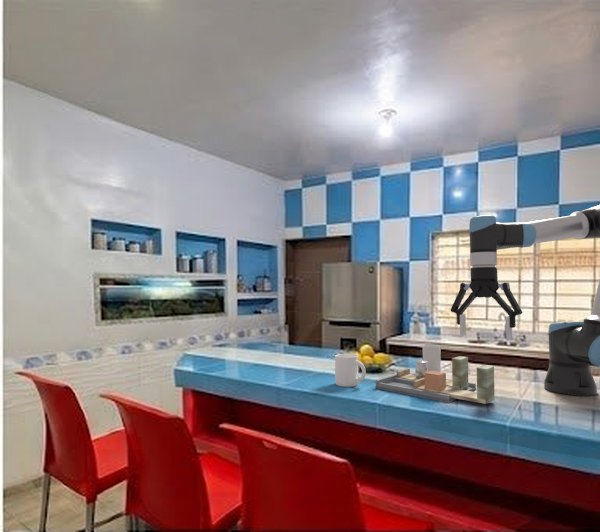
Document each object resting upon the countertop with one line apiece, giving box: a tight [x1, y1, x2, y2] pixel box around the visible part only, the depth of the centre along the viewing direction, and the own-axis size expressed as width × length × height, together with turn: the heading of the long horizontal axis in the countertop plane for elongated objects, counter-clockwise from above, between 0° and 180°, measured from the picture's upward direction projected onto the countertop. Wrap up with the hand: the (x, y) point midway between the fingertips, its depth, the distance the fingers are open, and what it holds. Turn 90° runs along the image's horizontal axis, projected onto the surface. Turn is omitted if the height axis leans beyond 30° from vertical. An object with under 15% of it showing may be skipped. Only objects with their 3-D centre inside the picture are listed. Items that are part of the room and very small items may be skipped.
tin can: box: [414, 360, 428, 379], centre depth 154 cm, size 4×4×6 cm
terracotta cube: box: [424, 371, 447, 391], centre depth 139 cm, size 5×5×5 cm
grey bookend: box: [422, 344, 442, 372], centre depth 168 cm, size 10×7×12 cm, turn 140°
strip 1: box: [396, 355, 469, 389], centre depth 151 cm, size 24×8×10 cm, turn 47°
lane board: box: [375, 372, 477, 403], centre depth 147 cm, size 26×22×3 cm
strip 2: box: [413, 364, 496, 405], centre depth 136 cm, size 24×8×10 cm, turn 47°
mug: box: [334, 353, 367, 388], centre depth 153 cm, size 12×8×10 cm
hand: (485, 337), depth 129 cm, fingers open, 13 cm apart
